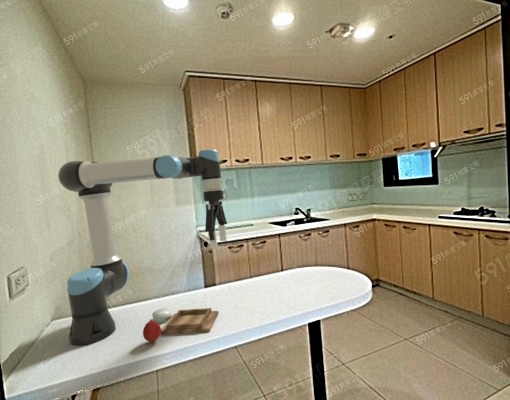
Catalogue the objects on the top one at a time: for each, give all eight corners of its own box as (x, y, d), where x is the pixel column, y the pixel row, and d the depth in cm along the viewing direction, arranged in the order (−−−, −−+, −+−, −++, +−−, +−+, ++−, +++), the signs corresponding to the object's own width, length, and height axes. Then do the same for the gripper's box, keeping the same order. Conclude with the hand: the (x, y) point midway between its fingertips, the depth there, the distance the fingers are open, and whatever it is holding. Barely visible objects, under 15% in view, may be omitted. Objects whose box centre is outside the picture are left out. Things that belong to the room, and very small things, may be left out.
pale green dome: (150, 324, 116) (149, 316, 116) (157, 316, 123) (156, 308, 123) (167, 323, 115) (166, 315, 115) (174, 314, 122) (173, 307, 122)
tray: (159, 334, 107) (159, 327, 107) (174, 316, 121) (173, 309, 121) (209, 331, 105) (208, 324, 105) (218, 313, 119) (217, 307, 119)
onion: (145, 349, 98) (141, 325, 98) (143, 341, 103) (140, 318, 103) (163, 343, 100) (160, 320, 100) (161, 336, 106) (158, 313, 105)
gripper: (212, 190, 104) (219, 251, 105) (229, 188, 129) (235, 237, 130) (191, 192, 105) (198, 253, 107) (212, 189, 130) (218, 238, 131)
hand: (218, 244), depth 118 cm, fingers open, 13 cm apart
